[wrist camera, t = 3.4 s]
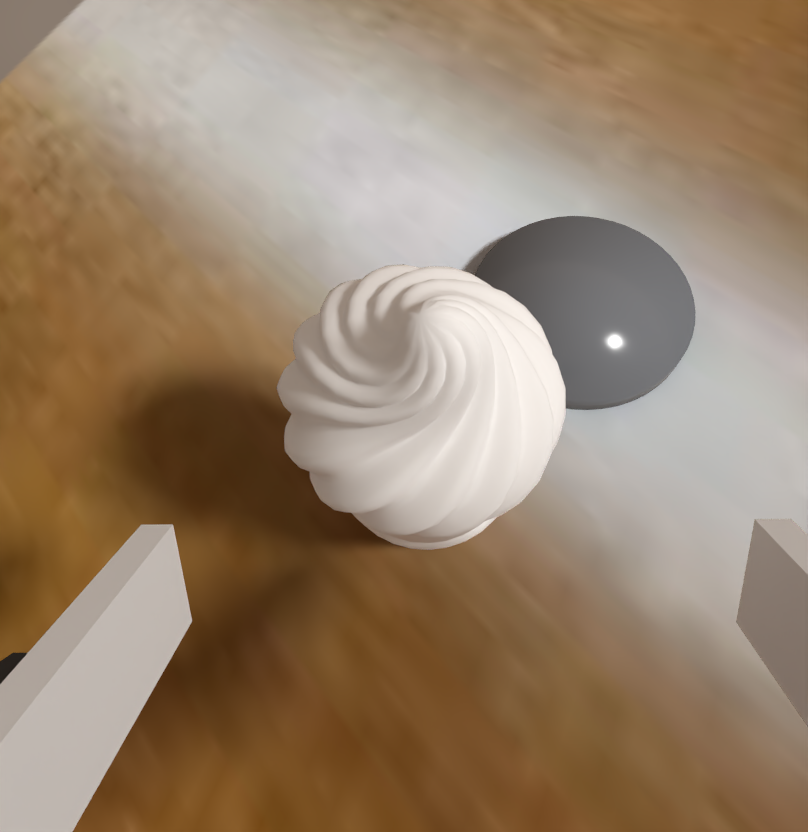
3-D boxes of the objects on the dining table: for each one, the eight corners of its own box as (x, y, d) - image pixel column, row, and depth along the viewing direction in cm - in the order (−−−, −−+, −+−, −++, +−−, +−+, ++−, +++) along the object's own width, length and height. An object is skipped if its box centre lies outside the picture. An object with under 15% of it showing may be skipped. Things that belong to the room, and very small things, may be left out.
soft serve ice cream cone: (302, 506, 28) (147, 308, 14) (425, 386, 30) (404, 105, 16) (436, 638, 25) (419, 568, 11) (561, 496, 28) (687, 280, 13)
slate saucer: (431, 283, 33) (430, 271, 32) (601, 200, 34) (605, 186, 33) (547, 448, 29) (550, 441, 28) (735, 344, 30) (744, 334, 29)
